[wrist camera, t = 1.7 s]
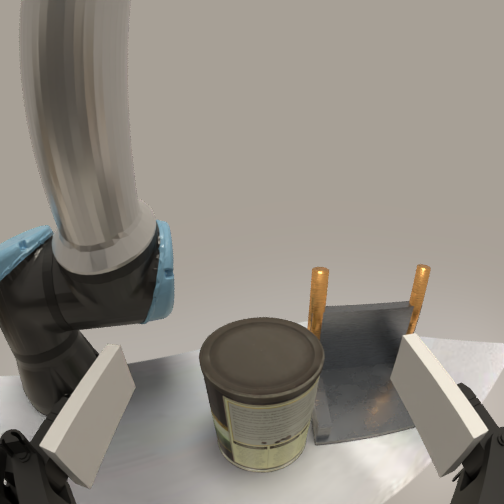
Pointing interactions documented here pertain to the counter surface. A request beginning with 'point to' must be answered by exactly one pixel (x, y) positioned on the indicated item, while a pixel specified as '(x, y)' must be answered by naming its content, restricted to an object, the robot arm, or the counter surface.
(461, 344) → the counter surface
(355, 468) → the counter surface
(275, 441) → the coffee can
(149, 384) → the counter surface
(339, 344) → the keeper bracket
